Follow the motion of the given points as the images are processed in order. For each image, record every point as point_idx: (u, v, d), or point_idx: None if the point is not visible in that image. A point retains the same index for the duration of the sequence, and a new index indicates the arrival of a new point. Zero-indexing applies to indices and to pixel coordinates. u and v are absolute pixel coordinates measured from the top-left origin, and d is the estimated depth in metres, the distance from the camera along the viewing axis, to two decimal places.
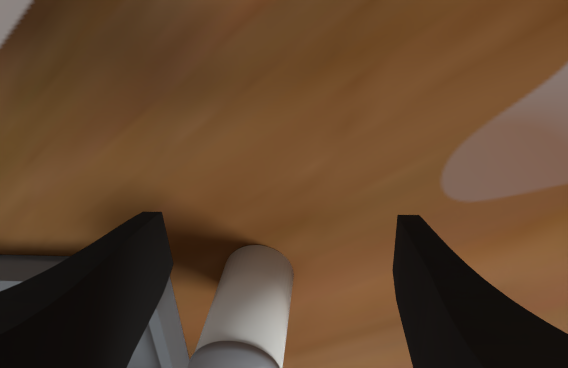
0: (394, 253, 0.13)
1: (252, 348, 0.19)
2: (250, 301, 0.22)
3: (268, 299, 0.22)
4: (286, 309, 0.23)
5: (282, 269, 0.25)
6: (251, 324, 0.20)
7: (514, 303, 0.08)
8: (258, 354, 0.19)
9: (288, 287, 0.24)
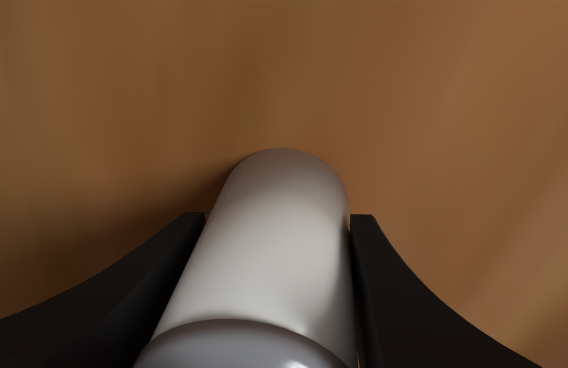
0: None
1: (193, 329, 0.07)
2: (209, 243, 0.10)
3: (247, 219, 0.10)
4: (311, 217, 0.10)
5: (285, 165, 0.12)
6: (203, 280, 0.08)
7: (438, 300, 0.08)
8: (206, 334, 0.07)
9: (309, 184, 0.12)
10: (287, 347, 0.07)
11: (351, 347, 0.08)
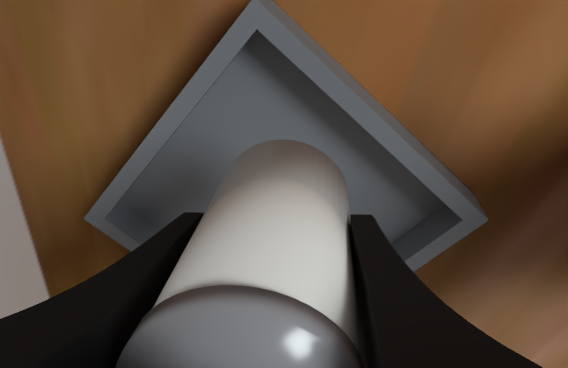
0: None
1: (200, 294, 0.07)
2: (214, 221, 0.10)
3: (252, 199, 0.10)
4: (315, 202, 0.11)
5: (290, 154, 0.13)
6: (209, 253, 0.08)
7: (439, 300, 0.08)
8: (213, 298, 0.07)
9: (313, 173, 0.12)
10: (295, 314, 0.07)
11: (354, 326, 0.08)
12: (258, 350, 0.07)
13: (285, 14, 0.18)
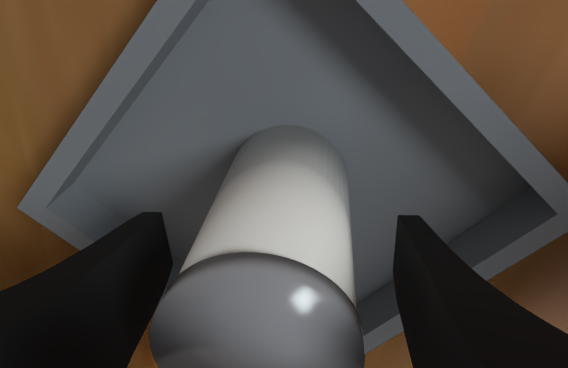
0: (394, 253, 0.13)
1: (223, 259, 0.08)
2: (229, 199, 0.11)
3: (263, 180, 0.11)
4: (318, 182, 0.12)
5: (294, 139, 0.14)
6: (226, 226, 0.10)
7: (514, 303, 0.08)
8: (234, 262, 0.08)
9: (316, 156, 0.13)
10: (303, 276, 0.08)
11: (352, 289, 0.10)
12: (272, 305, 0.08)
13: None
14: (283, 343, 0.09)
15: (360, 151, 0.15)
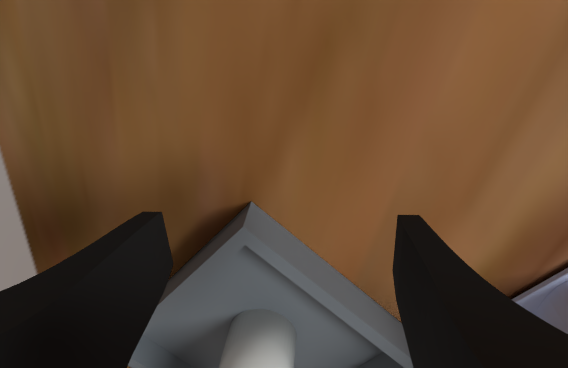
0: (394, 253, 0.13)
1: None
2: None
3: (244, 365, 0.23)
4: (273, 362, 0.23)
5: (263, 324, 0.25)
6: None
7: (514, 303, 0.08)
8: None
9: (274, 338, 0.25)
10: None
11: None
12: None
13: (267, 218, 0.23)
14: None
15: (302, 322, 0.27)
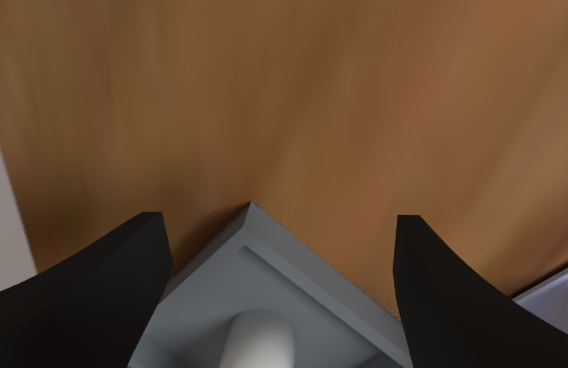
0: (394, 253, 0.13)
1: None
2: None
3: (244, 365, 0.23)
4: (273, 362, 0.23)
5: (263, 324, 0.25)
6: None
7: (514, 303, 0.08)
8: None
9: (274, 338, 0.25)
10: None
11: None
12: None
13: (267, 218, 0.23)
14: None
15: (302, 322, 0.27)
